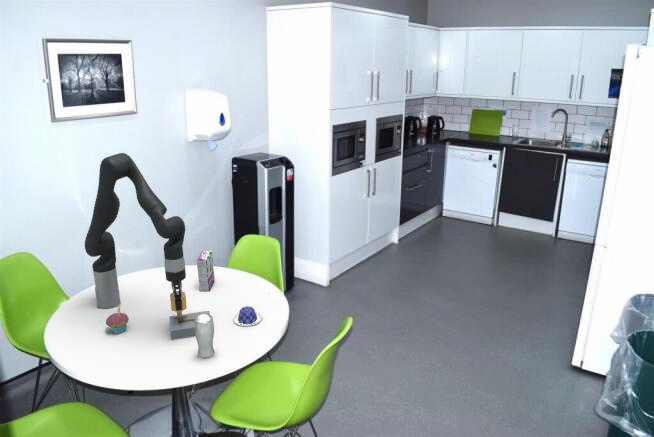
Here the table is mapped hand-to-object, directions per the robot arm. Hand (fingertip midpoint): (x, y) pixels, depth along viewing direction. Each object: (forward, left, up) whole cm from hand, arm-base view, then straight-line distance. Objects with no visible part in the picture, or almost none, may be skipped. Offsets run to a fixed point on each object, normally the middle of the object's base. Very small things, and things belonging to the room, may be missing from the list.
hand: (178, 306), depth 207 cm
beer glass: (+8, -20, -11) cm, 24 cm away
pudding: (+27, +1, -12) cm, 29 cm away
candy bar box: (+14, +38, -11) cm, 42 cm away
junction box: (+4, 0, -11) cm, 12 cm away
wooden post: (0, 0, -7) cm, 7 cm away
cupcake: (-24, +8, -11) cm, 28 cm away
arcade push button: (0, 0, -1) cm, 1 cm away
